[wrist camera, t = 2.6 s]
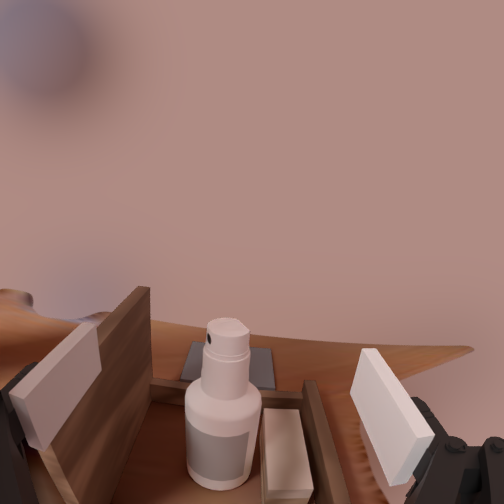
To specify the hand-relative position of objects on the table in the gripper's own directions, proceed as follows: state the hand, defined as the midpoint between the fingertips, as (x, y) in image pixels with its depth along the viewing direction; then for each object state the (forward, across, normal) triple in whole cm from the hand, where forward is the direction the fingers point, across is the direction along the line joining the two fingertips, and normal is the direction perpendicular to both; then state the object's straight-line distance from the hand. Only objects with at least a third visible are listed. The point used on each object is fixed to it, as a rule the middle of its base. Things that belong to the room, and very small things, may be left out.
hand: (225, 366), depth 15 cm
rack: (+10, 0, -21) cm, 23 cm away
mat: (+32, 0, -20) cm, 38 cm away
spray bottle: (+10, 0, -21) cm, 23 cm away
